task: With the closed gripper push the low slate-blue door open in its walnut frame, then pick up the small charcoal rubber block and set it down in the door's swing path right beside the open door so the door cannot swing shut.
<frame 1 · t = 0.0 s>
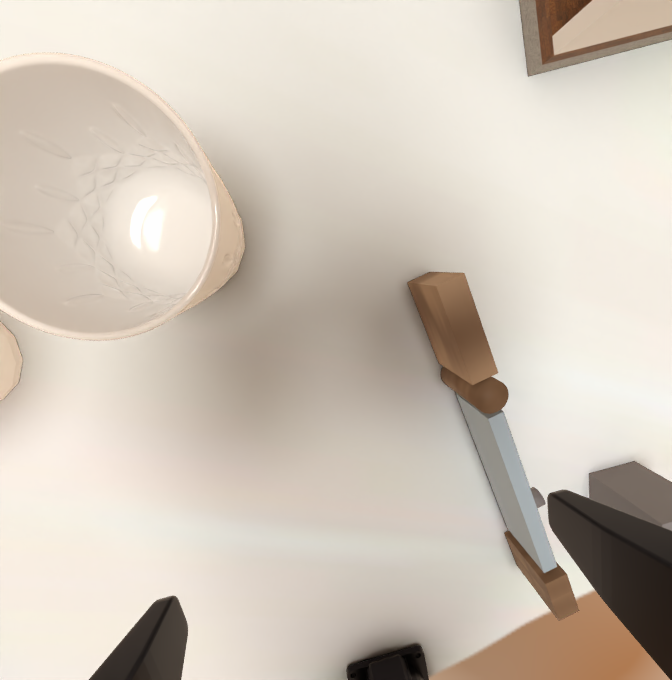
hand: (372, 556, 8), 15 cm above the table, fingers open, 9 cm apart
door: (513, 475, 23), point 2 cm above the table, hinge at 0.0°
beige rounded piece: (187, 238, 20), on the table
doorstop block: (611, 488, 27), on the table
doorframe: (454, 373, 23), on the table
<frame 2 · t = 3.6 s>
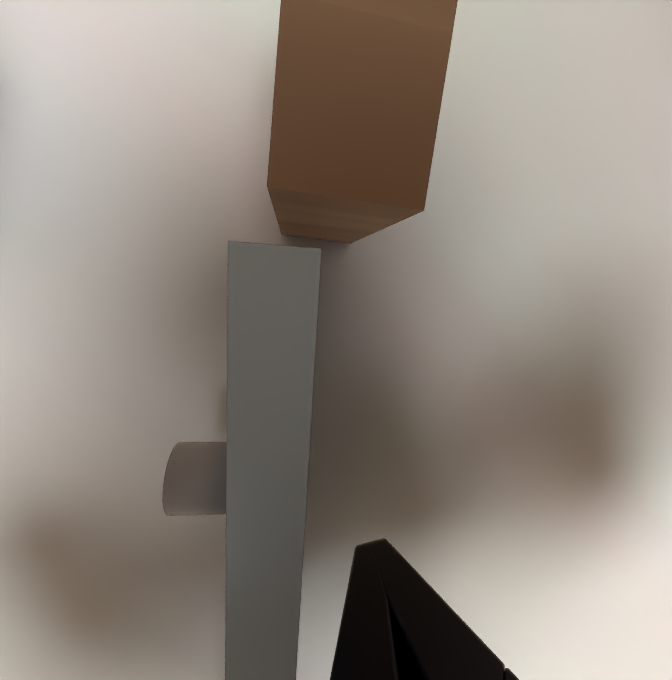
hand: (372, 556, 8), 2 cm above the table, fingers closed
door: (239, 573, 7), point 2 cm above the table, hinge at 2.9°, touching gripper
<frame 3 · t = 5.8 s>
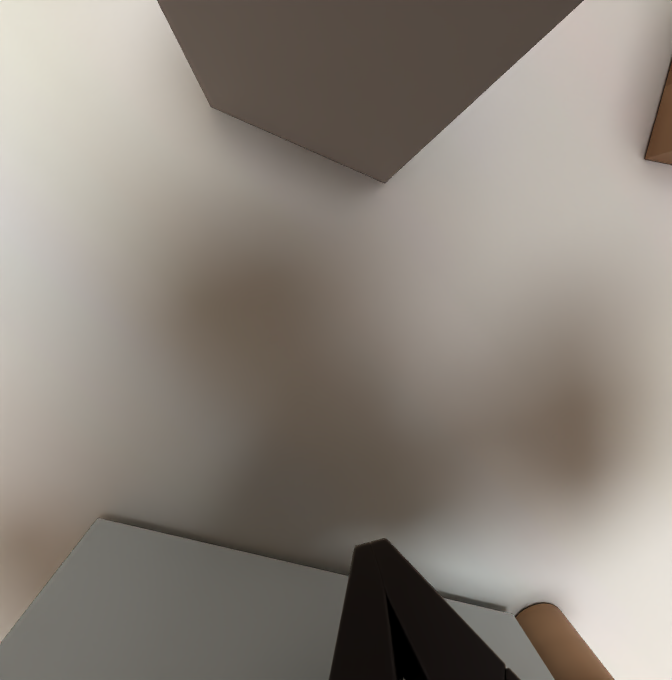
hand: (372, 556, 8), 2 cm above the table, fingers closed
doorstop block: (333, 50, 7), on the table
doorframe: (536, 627, 11), on the table
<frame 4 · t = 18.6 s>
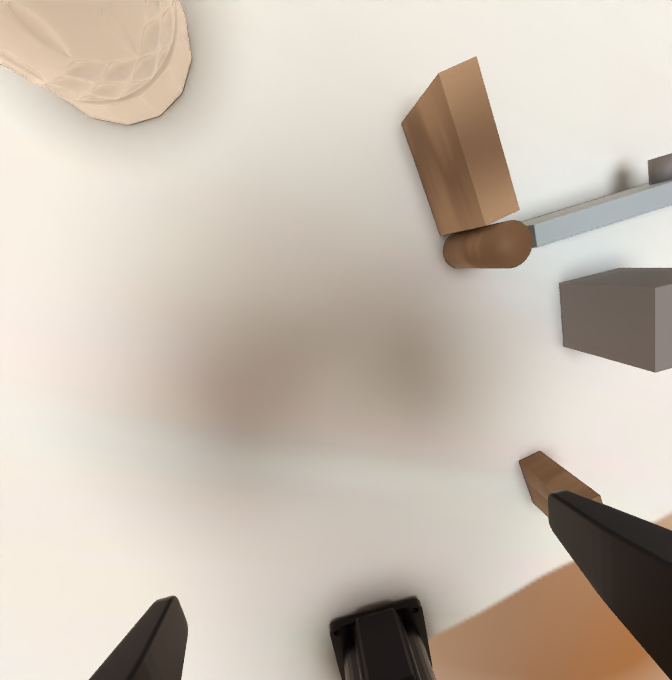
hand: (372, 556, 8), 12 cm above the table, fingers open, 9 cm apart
door: (620, 192, 17), point 2 cm above the table, hinge at 82.4°
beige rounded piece: (116, 45, 15), on the table
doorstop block: (590, 307, 21), on the table
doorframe: (460, 250, 19), on the table
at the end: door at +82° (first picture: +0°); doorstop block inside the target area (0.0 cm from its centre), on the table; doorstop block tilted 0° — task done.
